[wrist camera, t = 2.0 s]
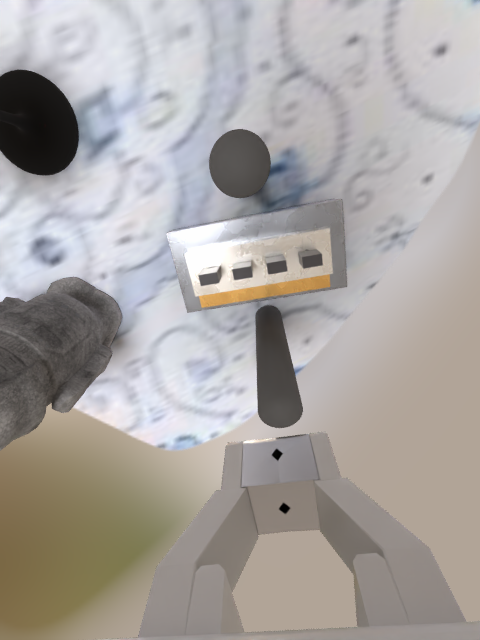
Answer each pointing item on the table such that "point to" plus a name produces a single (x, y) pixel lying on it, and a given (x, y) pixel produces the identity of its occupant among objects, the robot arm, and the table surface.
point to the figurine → (51, 351)
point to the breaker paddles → (273, 264)
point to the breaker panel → (258, 230)
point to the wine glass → (36, 123)
